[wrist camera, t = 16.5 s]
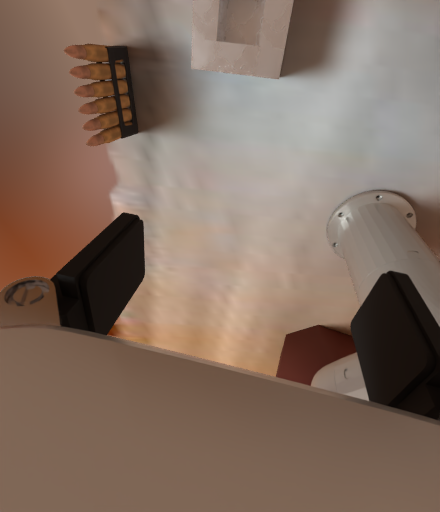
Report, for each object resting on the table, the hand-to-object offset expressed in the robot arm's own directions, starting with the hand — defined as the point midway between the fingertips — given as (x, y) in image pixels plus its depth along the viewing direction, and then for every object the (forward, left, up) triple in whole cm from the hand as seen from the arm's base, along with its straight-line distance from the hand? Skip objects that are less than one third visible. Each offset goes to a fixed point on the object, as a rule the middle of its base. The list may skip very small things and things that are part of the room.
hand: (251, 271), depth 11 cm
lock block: (+9, -8, -34) cm, 36 cm away
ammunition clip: (+21, +6, -34) cm, 40 cm away
